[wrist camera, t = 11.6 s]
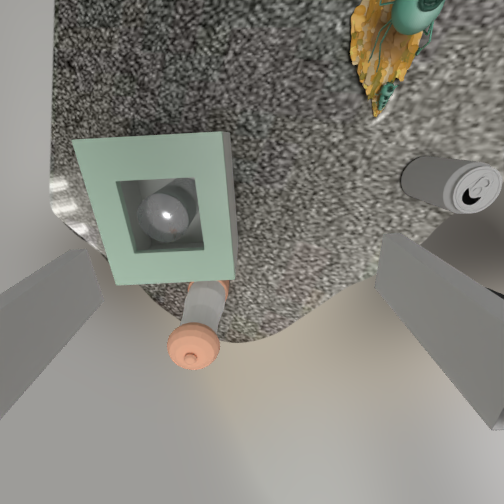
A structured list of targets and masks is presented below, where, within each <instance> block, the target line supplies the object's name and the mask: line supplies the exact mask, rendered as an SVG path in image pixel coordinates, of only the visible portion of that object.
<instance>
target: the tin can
mask: <svg viewBox="0 0 504 504" xmlns="http://www.w3.org/2000/svg"><path fill="white" fill-rule="evenodd" d="M198 211H199V205H198V198H197V191H196V183H195V180H193V179H191V178H176V179H174V180H173V181H171V182H170V183H168V184H167V185H165V186H164V187H162V188H161V189H159V190H158V191H156V192H155V193H153V194H151V195H149V196H148V197H146V198H145V199H144V200H143V201H142V202H141V203H140V205H139V208H138V212H137V216H138V222H139V224H140V226H141V228H142V229H143V231H144V232H145V233H146V234H147V235H148V236H150V237H151V238H153V239H155V240H157V241H161V242H172V241H176V240H178V239H179V238H181V237H182V236H183V235H184V234H185V232H186V231H187V229H188V227H189V225H190V224H191V222H192V221H193V219H194V217H195V216H196V214H197V213H198Z"/></svg>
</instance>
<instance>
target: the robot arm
mask: <svg viewBox="0 0 504 504" xmlns="http://www.w3.org/2000/svg"><path fill="white" fill-rule="evenodd" d="M375 289H376V290H377V291H378V292H379V294H380V295H381V296H382V297H383V299H384V300H385V301H386V302H387V303H388V305H389V306H390V307H391V308H392V310H393V311H394V312H395V313H396V314H397V316H398V317H399V318H400V319H401V321H402V322H403V323H404V324H405V326H406V327H407V328H408V329H409V330H410V332H411V333H412V334H413V335H414V336H415V338H416V339H417V340H418V341H419V343H420V344H421V345H422V346H423V347H424V348H425V350H426V351H427V352H428V354H429V355H430V356H431V357H432V358H433V360H434V361H435V362H436V363H437V364H438V366H439V367H440V368H441V369H442V371H443V372H444V373H445V374H446V376H447V377H448V378H449V379H450V380H451V382H452V383H453V384H454V385H455V386H456V388H457V389H458V390H459V391H460V393H461V394H462V395H463V396H464V397H465V398H466V400H467V401H468V402H469V404H470V405H471V406H472V407H473V408H474V410H475V411H476V412H477V413H478V415H479V416H480V417H481V418H482V419H483V421H484V422H485V423H486V424H487V425H488V427H489V428H490V429H491V430H504V295H503V294H501V293H498V292H495V291H493V290H491V289H489V288H486V287H484V286H482V285H481V284H479V283H477V282H476V281H474V280H473V279H471V278H469V277H468V276H467V275H465V274H464V273H462V272H460V271H459V270H457V269H456V268H454V267H453V266H451V265H450V264H448V263H446V262H445V261H443V260H442V259H440V258H439V257H437V256H436V255H434V254H433V253H431V252H429V251H428V250H426V249H425V248H423V247H422V246H420V245H419V244H417V243H416V242H414V241H412V240H411V239H409V238H408V237H406V236H405V235H403V234H402V233H394V234H383V240H382V246H381V252H380V258H379V264H378V270H377V276H376V282H375ZM103 302H104V298H103V295H102V292H101V289H100V286H99V283H98V280H97V277H96V274H95V271H94V269H93V266H92V262H91V260H90V257H89V254H88V251H87V249H76V250H69V251H67V252H66V253H64V254H62V255H61V256H59V257H58V258H56V259H55V260H53V261H52V262H50V263H49V264H47V265H45V266H44V267H42V268H41V269H39V270H37V271H36V272H34V273H33V274H31V275H30V276H28V277H26V278H25V279H23V280H22V281H20V282H19V283H17V284H16V285H14V286H13V287H11V288H9V289H8V290H6V291H5V292H3V293H2V294H0V419H1V418H2V417H3V416H4V415H5V414H6V413H7V411H8V410H9V409H10V408H11V407H12V405H14V403H15V402H16V401H17V400H18V399H19V398H20V397H21V395H22V394H23V393H24V392H25V391H26V390H27V388H28V387H29V386H30V385H31V384H32V383H33V382H34V381H35V379H36V378H37V377H38V376H39V375H40V374H41V373H42V371H43V370H44V369H45V368H46V367H47V365H49V363H50V362H51V361H52V360H53V359H54V358H55V356H56V355H57V354H58V353H59V352H60V351H61V350H62V349H63V347H64V346H65V345H66V344H67V343H68V342H69V341H70V339H71V338H72V337H73V336H74V335H75V334H76V332H77V331H78V330H79V329H80V328H81V327H82V326H83V324H84V323H85V322H86V321H87V320H88V319H89V318H90V316H91V315H92V314H93V313H94V312H95V311H96V310H97V309H98V307H99V306H100V305H101V304H102V303H103Z"/></svg>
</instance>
